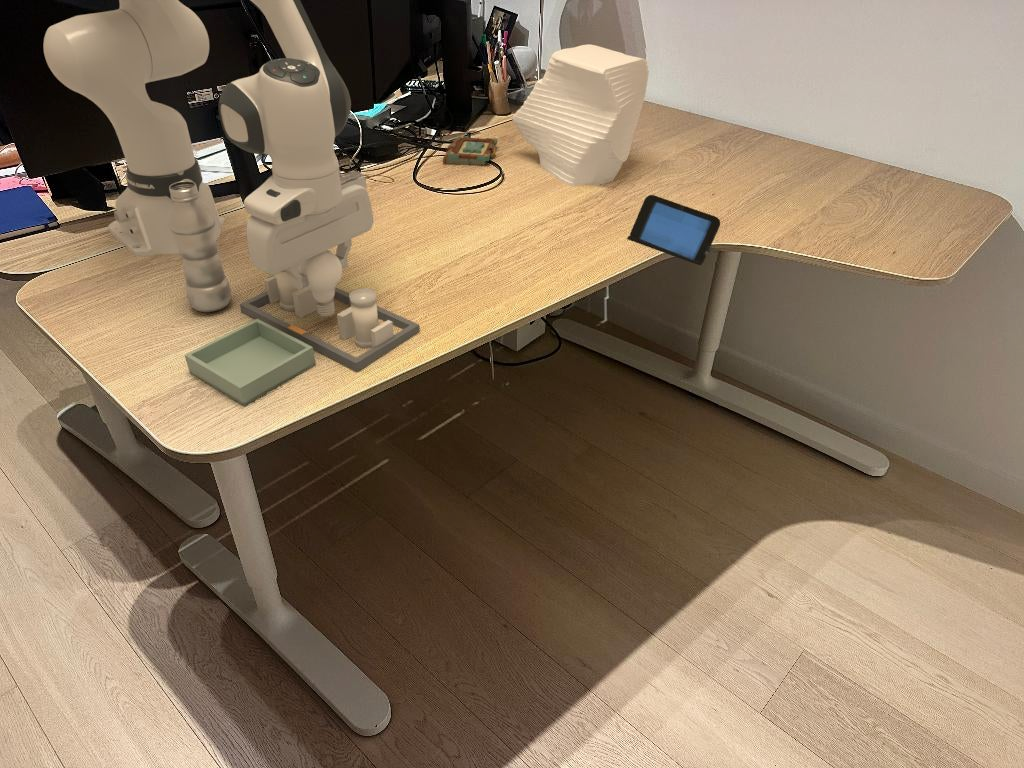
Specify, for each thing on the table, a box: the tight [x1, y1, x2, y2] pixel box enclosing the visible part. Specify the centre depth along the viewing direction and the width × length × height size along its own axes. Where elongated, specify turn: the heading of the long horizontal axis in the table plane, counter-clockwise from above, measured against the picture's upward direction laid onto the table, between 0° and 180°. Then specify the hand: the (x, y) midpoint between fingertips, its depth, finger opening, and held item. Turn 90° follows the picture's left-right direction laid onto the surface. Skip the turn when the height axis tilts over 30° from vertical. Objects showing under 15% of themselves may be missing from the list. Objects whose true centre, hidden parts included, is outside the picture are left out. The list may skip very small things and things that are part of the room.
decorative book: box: [442, 135, 498, 166], centre depth 170 cm, size 13×18×5 cm
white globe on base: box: [274, 270, 299, 312], centre depth 117 cm, size 4×4×8 cm
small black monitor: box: [626, 194, 721, 266], centre depth 132 cm, size 16×13×9 cm
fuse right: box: [349, 287, 380, 349], centre depth 109 cm, size 4×4×8 cm
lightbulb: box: [298, 249, 343, 318], centre depth 112 cm, size 6×6×11 cm
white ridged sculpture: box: [511, 43, 649, 187], centre depth 161 cm, size 21×27×26 cm
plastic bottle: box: [168, 181, 232, 313], centre depth 113 cm, size 6×7×20 cm
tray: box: [184, 319, 317, 407], centre depth 105 cm, size 12×12×3 cm
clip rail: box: [239, 274, 421, 373], centre depth 115 cm, size 26×13×4 cm, turn 53°
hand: (321, 277), depth 111 cm, fingers closed on lightbulb, 6 cm apart
